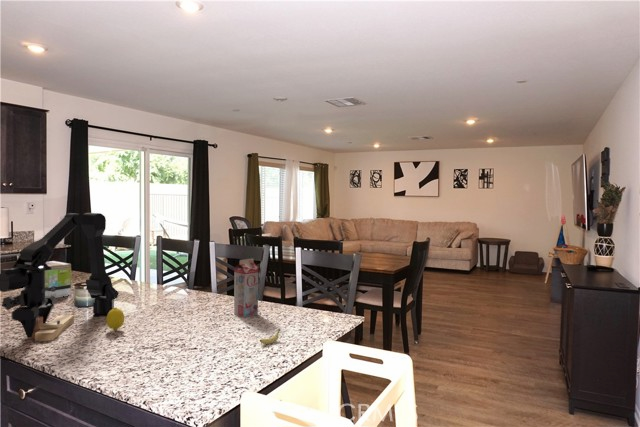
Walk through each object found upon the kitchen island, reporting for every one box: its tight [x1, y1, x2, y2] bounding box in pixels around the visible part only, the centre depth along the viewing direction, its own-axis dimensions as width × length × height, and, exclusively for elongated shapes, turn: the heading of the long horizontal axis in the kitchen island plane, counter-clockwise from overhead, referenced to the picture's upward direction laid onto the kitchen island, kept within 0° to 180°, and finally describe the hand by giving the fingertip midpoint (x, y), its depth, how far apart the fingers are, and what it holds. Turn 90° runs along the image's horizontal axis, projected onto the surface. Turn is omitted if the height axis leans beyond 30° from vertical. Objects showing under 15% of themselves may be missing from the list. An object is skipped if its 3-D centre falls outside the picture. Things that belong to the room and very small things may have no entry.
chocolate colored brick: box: [27, 316, 62, 340], centre depth 140 cm, size 9×4×6 cm, turn 103°
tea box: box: [45, 260, 72, 299], centre depth 194 cm, size 15×10×15 cm, turn 58°
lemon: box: [106, 307, 125, 331], centre depth 147 cm, size 6×6×8 cm
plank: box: [34, 314, 75, 342], centre depth 145 cm, size 5×20×2 cm, turn 13°
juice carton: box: [233, 258, 259, 318], centre depth 169 cm, size 7×7×22 cm
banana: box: [259, 328, 281, 345], centre depth 138 cm, size 8×2×4 cm, turn 137°
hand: (35, 332), depth 140 cm, fingers open, 9 cm apart
